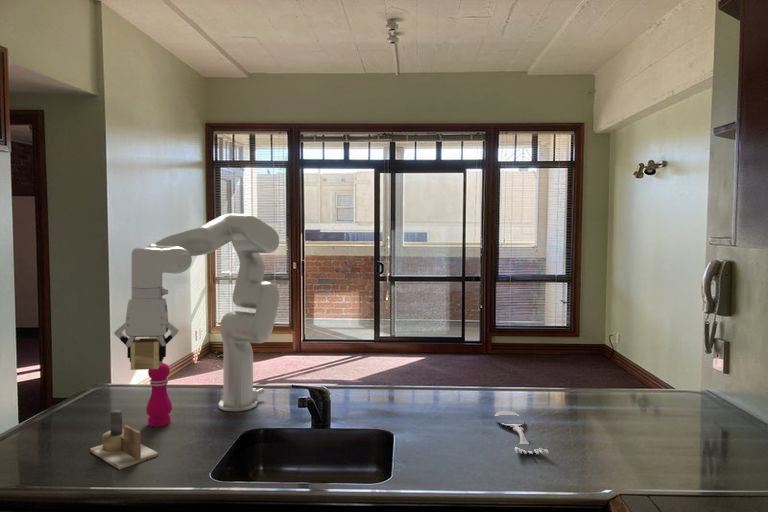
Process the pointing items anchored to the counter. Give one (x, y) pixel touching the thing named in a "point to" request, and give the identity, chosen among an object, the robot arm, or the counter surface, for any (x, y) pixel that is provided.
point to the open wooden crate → (145, 353)
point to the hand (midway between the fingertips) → (146, 359)
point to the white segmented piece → (522, 437)
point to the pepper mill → (159, 397)
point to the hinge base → (122, 444)
